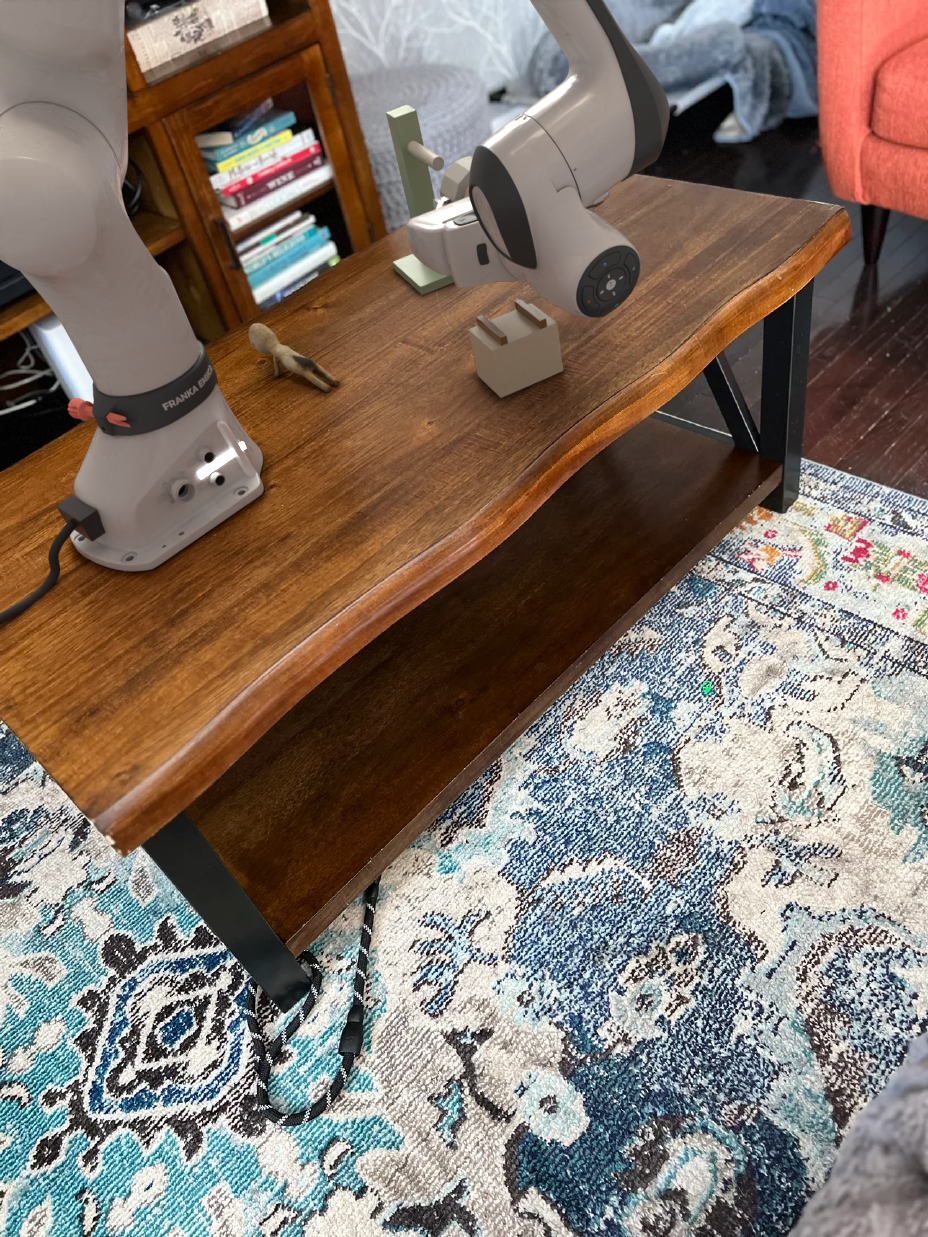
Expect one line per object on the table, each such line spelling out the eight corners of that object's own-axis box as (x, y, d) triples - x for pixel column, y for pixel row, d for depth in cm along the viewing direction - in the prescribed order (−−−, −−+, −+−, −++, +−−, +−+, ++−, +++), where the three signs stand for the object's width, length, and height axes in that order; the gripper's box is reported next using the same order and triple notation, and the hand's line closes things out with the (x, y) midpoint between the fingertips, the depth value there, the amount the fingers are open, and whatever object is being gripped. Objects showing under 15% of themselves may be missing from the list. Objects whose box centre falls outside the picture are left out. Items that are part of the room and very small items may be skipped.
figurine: (346, 394, 117) (267, 342, 123) (341, 364, 113) (259, 312, 119) (324, 410, 116) (244, 356, 122) (318, 381, 112) (236, 327, 118)
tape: (514, 217, 107) (504, 157, 103) (461, 238, 106) (449, 178, 102) (498, 207, 110) (488, 147, 105) (447, 227, 109) (434, 168, 104)
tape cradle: (563, 370, 108) (556, 313, 103) (500, 398, 106) (490, 341, 101) (538, 349, 112) (529, 294, 107) (477, 375, 110) (466, 320, 105)
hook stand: (497, 274, 127) (469, 114, 113) (429, 301, 125) (392, 143, 111) (458, 244, 136) (427, 92, 122) (394, 269, 134) (355, 118, 120)
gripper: (615, 163, 97) (549, 130, 106) (433, 235, 93) (382, 194, 103) (619, 224, 101) (556, 188, 111) (446, 295, 97) (396, 251, 107)
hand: (471, 191), depth 106 cm, fingers closed on tape, 6 cm apart
